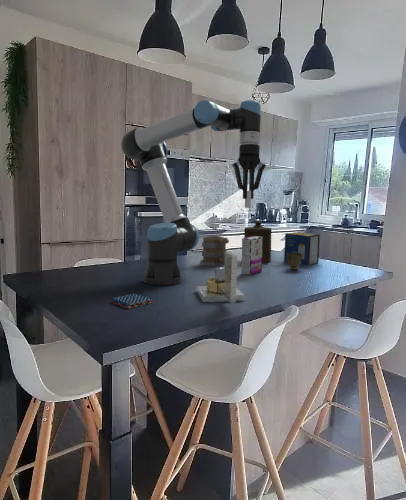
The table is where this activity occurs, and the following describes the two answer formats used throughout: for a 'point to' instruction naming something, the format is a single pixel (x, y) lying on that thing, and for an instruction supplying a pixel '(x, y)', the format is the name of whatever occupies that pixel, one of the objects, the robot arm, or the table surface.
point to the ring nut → (226, 279)
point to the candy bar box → (252, 255)
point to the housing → (214, 296)
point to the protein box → (303, 246)
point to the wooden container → (266, 235)
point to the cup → (294, 260)
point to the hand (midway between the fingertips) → (247, 207)
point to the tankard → (214, 251)
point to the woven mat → (131, 300)
